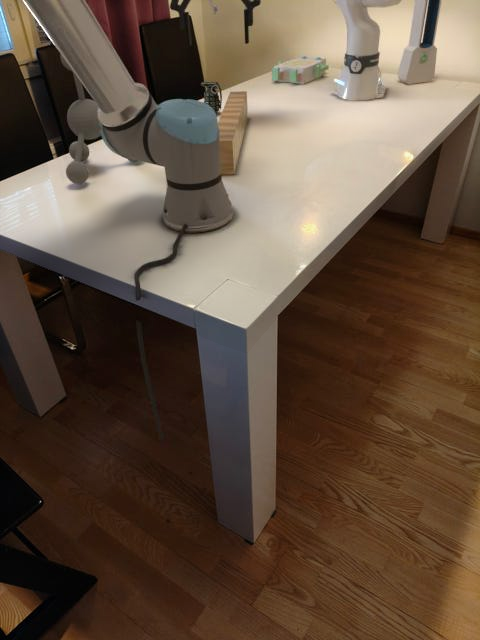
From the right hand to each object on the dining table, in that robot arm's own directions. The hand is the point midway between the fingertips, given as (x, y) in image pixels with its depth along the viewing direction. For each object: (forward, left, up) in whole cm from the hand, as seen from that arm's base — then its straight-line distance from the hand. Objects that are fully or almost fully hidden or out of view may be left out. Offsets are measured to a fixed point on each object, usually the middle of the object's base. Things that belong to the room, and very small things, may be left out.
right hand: (231, 13), depth 142 cm
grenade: (-8, -14, -31) cm, 35 cm away
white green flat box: (-67, -6, -31) cm, 75 cm away
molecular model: (+47, -15, -31) cm, 59 cm away
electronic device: (-74, +41, -31) cm, 91 cm away
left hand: (+34, +15, -2) cm, 37 cm away
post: (+17, +8, -31) cm, 36 cm away
